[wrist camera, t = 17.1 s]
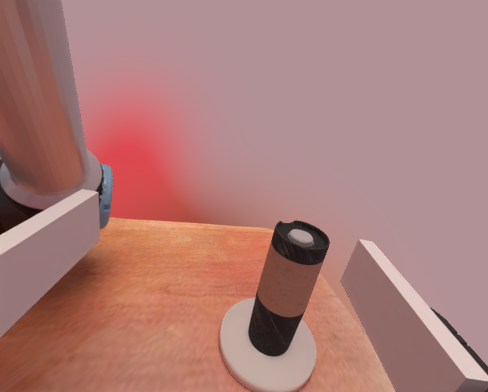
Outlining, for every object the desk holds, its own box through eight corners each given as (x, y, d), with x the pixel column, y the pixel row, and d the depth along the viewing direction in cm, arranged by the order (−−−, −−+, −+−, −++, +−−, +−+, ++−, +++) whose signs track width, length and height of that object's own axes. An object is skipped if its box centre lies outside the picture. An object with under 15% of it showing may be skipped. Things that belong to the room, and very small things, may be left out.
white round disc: (202, 322, 42) (204, 314, 42) (271, 295, 52) (273, 288, 51) (256, 422, 31) (259, 413, 30) (332, 364, 40) (336, 356, 39)
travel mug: (286, 368, 36) (329, 257, 28) (239, 343, 38) (268, 234, 31) (295, 328, 43) (332, 231, 35) (255, 309, 45) (282, 213, 37)
